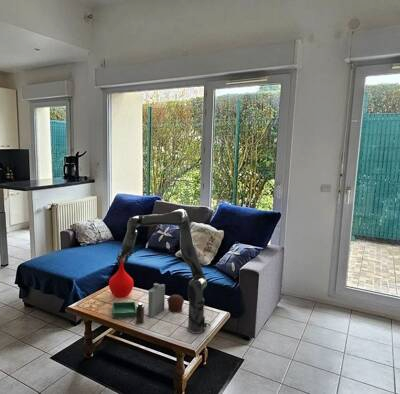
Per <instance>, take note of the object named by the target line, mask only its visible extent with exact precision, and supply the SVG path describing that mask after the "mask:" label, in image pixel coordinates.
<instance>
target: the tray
mask: <svg viewBox="0 0 400 394" xmlns="http://www.w3.org/2000/svg"><path fill="white" fill-rule="evenodd" d="M136 306H137V304H136V302H135V301H123V302H122V301H121V302H120V301H119V302H112V317H113V319H129V318H136Z"/></svg>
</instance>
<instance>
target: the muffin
mask: <svg viewBox="0 0 400 394" xmlns="http://www.w3.org/2000/svg"><path fill="white" fill-rule="evenodd" d="M166 300H167V305H168V311H169V312H172V313H180V312H182V310H183V305H184V302H185V299H184V298H183V296H181V295H180V294H171V295H170V296H168V298H167V299H166Z"/></svg>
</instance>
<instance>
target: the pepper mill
mask: <svg viewBox="0 0 400 394" xmlns="http://www.w3.org/2000/svg"><path fill="white" fill-rule="evenodd" d="M135 323H136V324H137V325H143V324H144V323H145V304H143V302H138V303H137V304H136V317H135Z"/></svg>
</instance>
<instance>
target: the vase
mask: <svg viewBox="0 0 400 394" xmlns="http://www.w3.org/2000/svg"><path fill="white" fill-rule="evenodd" d="M121 259H122V258H121ZM118 267H119V268H118V269H117V271H116V272H115V274H113V275H112V276H111V277H110V278H109V280H108V288H109V291H110V293H111V294H112V295H113V296H114V297H115V298H118V299H123V298H127V297H128V296H130V294H131V293H132V291H133V288H134V283H135V282H134V279H133V277H131V276H130V275H129V274H128V273H127V271H126V270H125V268H124V259H123V260H122V261H121V264H120V266H118Z"/></svg>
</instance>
